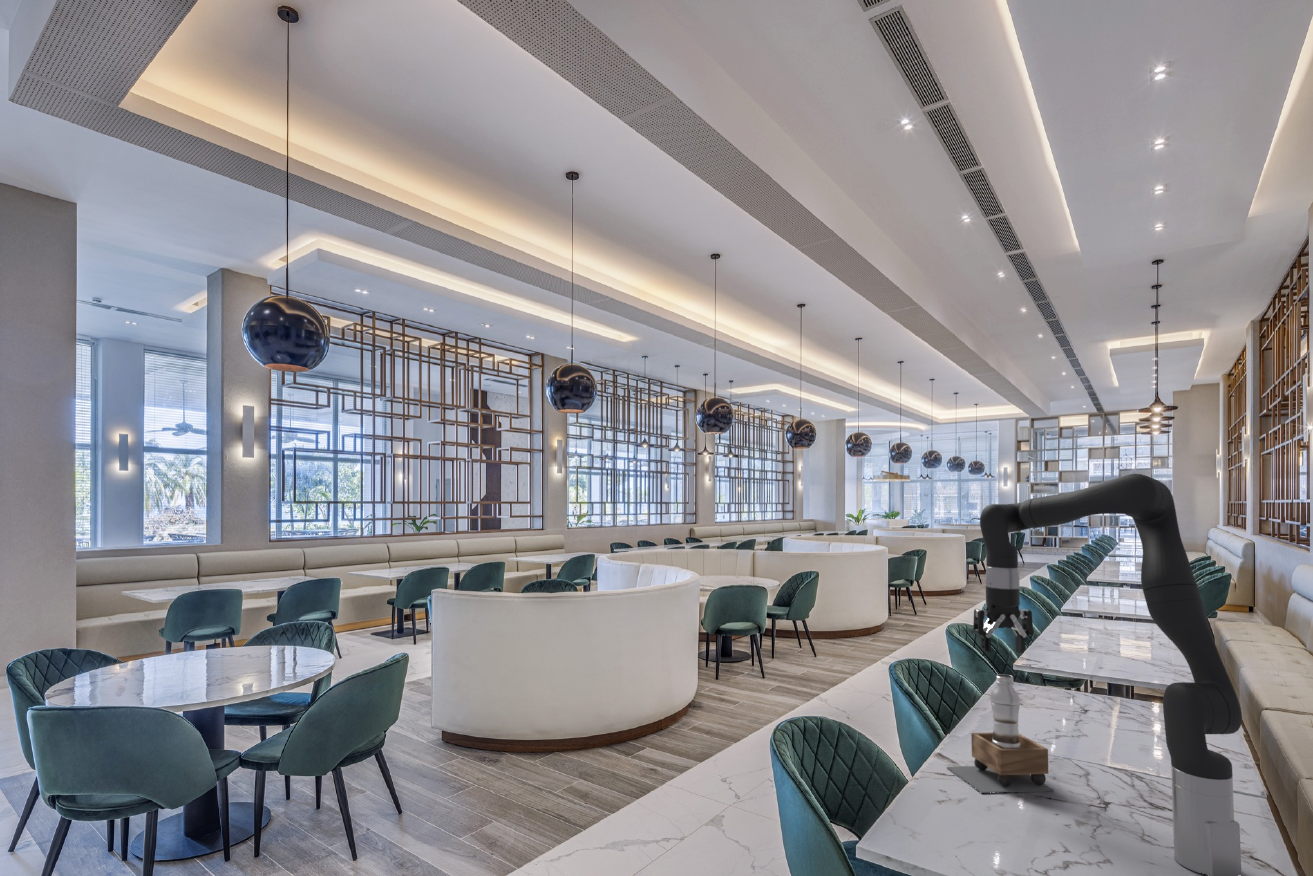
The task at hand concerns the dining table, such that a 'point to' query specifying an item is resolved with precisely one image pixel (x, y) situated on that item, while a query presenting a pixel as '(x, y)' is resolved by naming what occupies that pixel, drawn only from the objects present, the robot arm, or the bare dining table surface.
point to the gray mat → (996, 781)
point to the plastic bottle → (1005, 713)
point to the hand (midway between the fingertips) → (1003, 652)
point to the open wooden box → (1010, 758)
